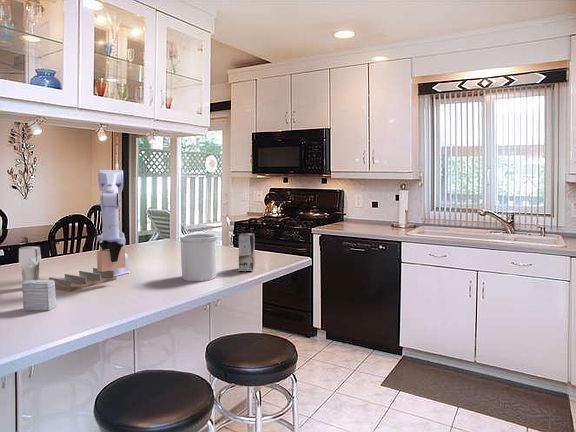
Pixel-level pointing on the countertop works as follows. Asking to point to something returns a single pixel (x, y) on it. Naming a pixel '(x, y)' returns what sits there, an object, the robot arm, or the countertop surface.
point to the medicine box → (39, 295)
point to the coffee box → (246, 251)
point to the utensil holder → (198, 256)
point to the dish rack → (83, 280)
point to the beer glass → (30, 262)
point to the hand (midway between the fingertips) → (111, 261)
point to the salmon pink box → (109, 260)
